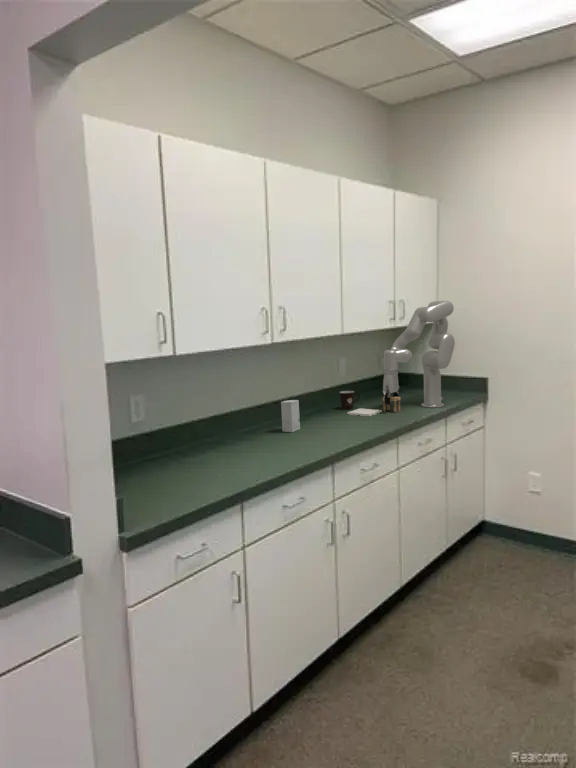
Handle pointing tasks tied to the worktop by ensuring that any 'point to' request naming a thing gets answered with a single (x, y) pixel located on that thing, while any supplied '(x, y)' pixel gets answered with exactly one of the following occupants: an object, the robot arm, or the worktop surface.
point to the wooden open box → (394, 403)
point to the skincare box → (290, 415)
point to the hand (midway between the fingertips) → (391, 402)
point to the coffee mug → (347, 399)
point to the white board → (364, 412)
